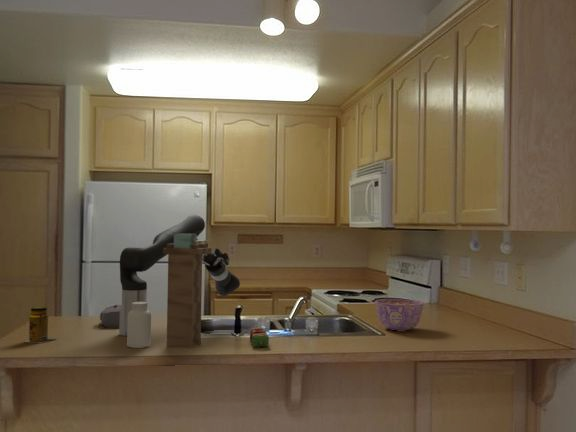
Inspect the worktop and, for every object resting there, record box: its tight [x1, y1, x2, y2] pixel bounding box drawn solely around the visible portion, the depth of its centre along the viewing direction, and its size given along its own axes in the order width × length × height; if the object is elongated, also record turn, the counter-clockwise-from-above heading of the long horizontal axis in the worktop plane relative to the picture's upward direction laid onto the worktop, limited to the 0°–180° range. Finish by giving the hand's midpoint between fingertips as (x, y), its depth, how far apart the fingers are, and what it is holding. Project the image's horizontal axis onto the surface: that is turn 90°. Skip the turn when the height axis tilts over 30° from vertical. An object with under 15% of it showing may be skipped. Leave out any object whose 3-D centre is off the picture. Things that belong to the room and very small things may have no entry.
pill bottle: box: [126, 301, 152, 349], centre depth 189 cm, size 8×8×15 cm
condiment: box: [23, 306, 55, 344], centre depth 196 cm, size 7×8×12 cm
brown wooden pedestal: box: [163, 243, 212, 349], centre depth 194 cm, size 13×13×36 cm
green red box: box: [249, 327, 270, 348], centre depth 195 cm, size 21×6×5 cm, turn 7°
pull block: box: [174, 234, 209, 249], centre depth 200 cm, size 22×6×5 cm, turn 168°
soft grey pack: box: [99, 304, 122, 329], centre depth 232 cm, size 15×8×20 cm
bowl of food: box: [374, 298, 425, 332], centre depth 227 cm, size 20×20×12 cm
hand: (205, 249), depth 212 cm, fingers open, 8 cm apart
